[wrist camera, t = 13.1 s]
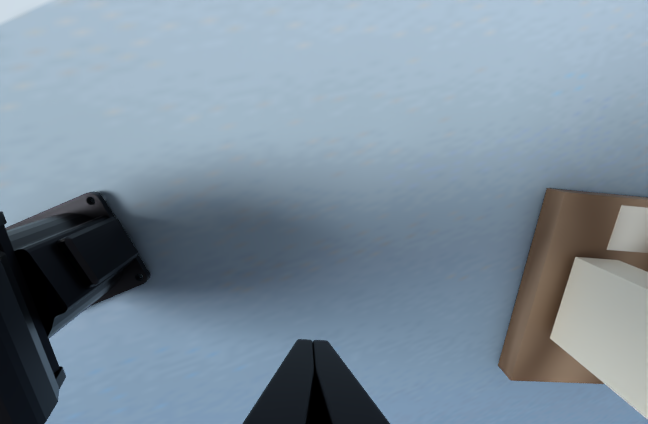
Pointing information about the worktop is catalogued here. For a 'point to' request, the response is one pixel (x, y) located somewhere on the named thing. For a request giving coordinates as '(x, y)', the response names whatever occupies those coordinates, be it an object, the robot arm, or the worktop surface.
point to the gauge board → (567, 275)
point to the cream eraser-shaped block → (608, 325)
